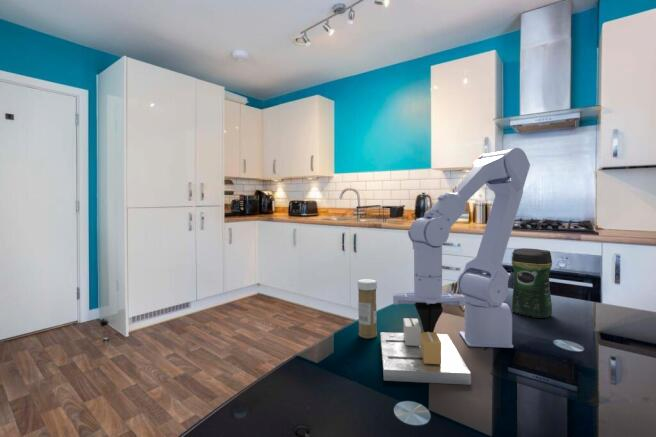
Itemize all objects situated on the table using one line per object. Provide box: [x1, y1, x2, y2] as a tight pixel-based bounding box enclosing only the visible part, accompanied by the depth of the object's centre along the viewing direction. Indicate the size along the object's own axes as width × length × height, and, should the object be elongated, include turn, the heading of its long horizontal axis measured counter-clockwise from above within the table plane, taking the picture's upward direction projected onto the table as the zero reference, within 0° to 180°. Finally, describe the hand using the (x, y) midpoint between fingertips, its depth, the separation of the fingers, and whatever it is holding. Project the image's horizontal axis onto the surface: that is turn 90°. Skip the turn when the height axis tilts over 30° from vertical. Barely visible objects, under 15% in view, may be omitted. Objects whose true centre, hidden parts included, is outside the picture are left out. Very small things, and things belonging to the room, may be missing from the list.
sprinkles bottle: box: [357, 278, 378, 339], centre depth 82 cm, size 5×5×14 cm
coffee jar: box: [511, 247, 553, 319], centre depth 96 cm, size 10×8×19 cm
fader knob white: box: [402, 317, 422, 346], centre depth 73 cm, size 3×5×4 cm, turn 173°
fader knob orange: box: [420, 331, 441, 364], centre depth 65 cm, size 3×5×4 cm, turn 173°
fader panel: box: [380, 331, 472, 386], centre depth 69 cm, size 15×18×2 cm
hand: (427, 337), depth 73 cm, fingers closed
